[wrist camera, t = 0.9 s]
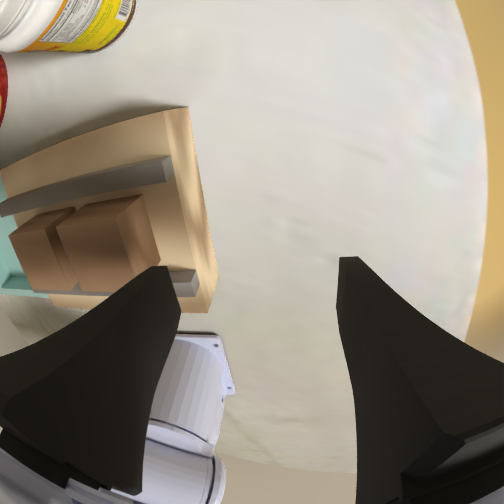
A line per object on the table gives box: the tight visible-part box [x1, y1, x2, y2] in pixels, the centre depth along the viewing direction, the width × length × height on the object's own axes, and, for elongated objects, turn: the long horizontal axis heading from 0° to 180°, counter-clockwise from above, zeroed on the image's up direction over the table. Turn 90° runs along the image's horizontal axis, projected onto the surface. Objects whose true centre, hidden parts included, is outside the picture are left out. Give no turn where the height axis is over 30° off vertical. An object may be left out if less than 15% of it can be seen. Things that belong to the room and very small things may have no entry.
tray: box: [0, 174, 49, 298], centre depth 19 cm, size 12×11×3 cm
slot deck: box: [0, 107, 219, 313], centre depth 17 cm, size 12×14×5 cm
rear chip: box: [8, 206, 78, 291], centre depth 15 cm, size 4×4×3 cm
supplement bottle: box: [0, 0, 138, 53], centre depth 7 cm, size 6×6×10 cm
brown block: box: [56, 194, 161, 292], centre depth 14 cm, size 4×4×3 cm
